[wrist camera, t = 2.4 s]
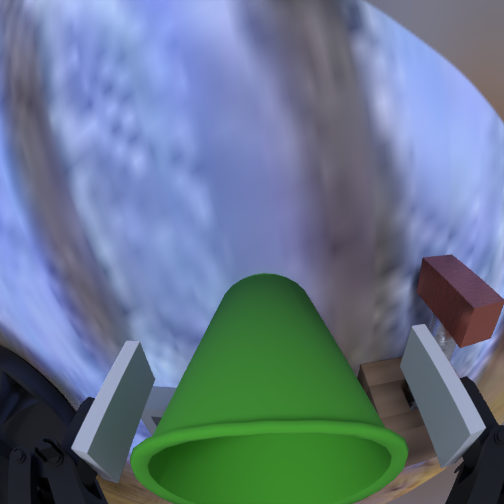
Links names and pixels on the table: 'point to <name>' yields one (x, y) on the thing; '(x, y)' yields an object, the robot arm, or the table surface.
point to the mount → (396, 406)
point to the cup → (268, 412)
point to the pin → (456, 305)
